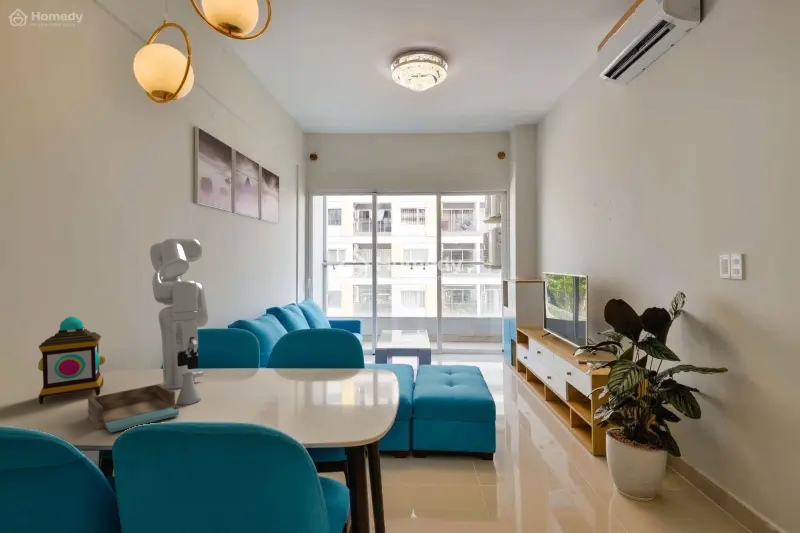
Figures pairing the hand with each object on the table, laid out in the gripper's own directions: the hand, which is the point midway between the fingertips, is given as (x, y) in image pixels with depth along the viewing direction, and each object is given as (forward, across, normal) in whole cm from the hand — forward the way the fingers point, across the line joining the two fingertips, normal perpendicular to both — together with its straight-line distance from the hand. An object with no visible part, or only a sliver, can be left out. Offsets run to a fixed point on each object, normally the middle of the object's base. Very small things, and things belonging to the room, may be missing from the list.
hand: (187, 367), depth 138 cm
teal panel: (+11, +5, -16) cm, 20 cm away
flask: (+12, -1, 0) cm, 12 cm away
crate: (+12, -3, -16) cm, 20 cm away
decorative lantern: (+11, -49, -25) cm, 56 cm away
